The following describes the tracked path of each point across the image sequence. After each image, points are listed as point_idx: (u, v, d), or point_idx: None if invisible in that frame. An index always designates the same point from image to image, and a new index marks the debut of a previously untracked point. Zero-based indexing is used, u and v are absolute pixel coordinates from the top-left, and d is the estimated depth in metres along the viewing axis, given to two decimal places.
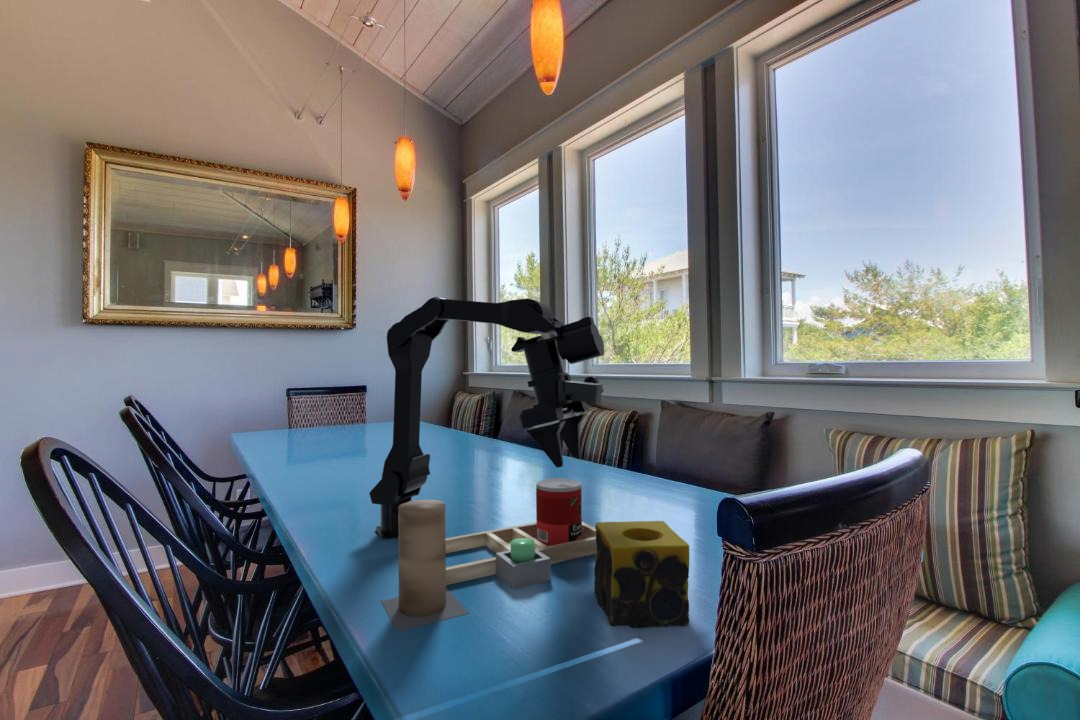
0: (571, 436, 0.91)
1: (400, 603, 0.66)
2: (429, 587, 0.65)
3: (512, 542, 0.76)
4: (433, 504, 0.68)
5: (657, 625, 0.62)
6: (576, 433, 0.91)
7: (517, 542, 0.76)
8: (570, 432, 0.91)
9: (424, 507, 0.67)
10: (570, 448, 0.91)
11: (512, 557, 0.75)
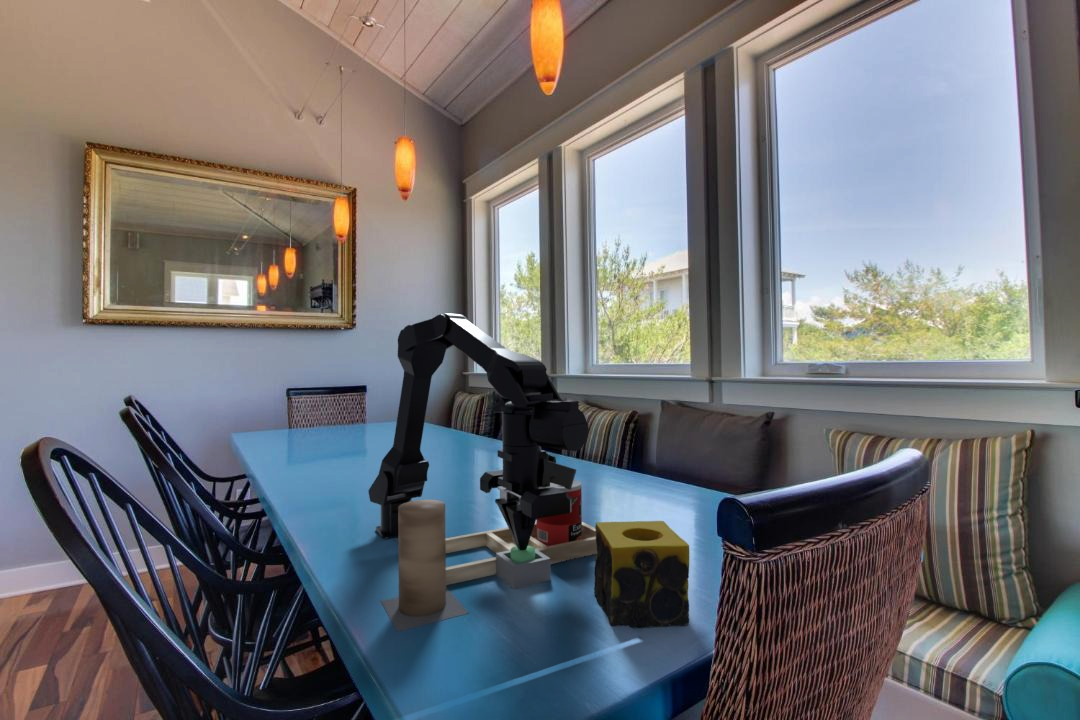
0: None
1: (400, 603, 0.66)
2: (429, 587, 0.65)
3: (512, 549, 0.76)
4: (433, 504, 0.68)
5: (657, 625, 0.62)
6: None
7: (517, 550, 0.76)
8: None
9: (424, 507, 0.67)
10: None
11: None
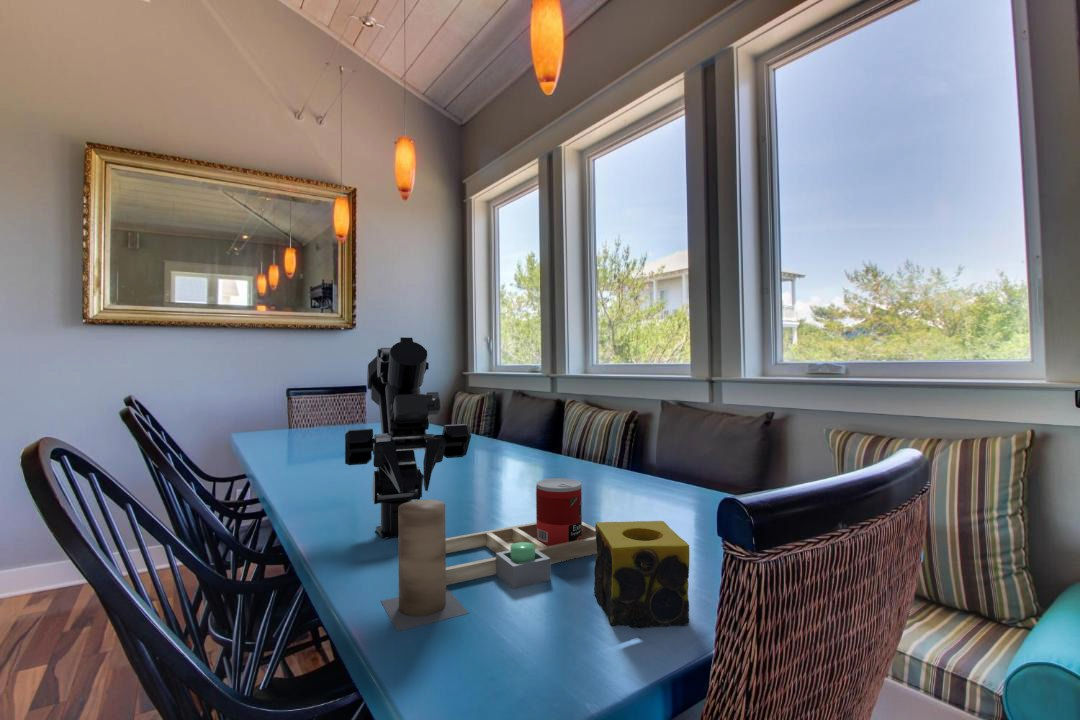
0: (424, 468, 0.78)
1: (400, 603, 0.66)
2: (429, 587, 0.65)
3: (512, 546, 0.76)
4: (433, 504, 0.68)
5: (657, 625, 0.62)
6: (426, 462, 0.78)
7: (517, 547, 0.76)
8: None
9: (424, 507, 0.67)
10: (424, 482, 0.77)
11: None
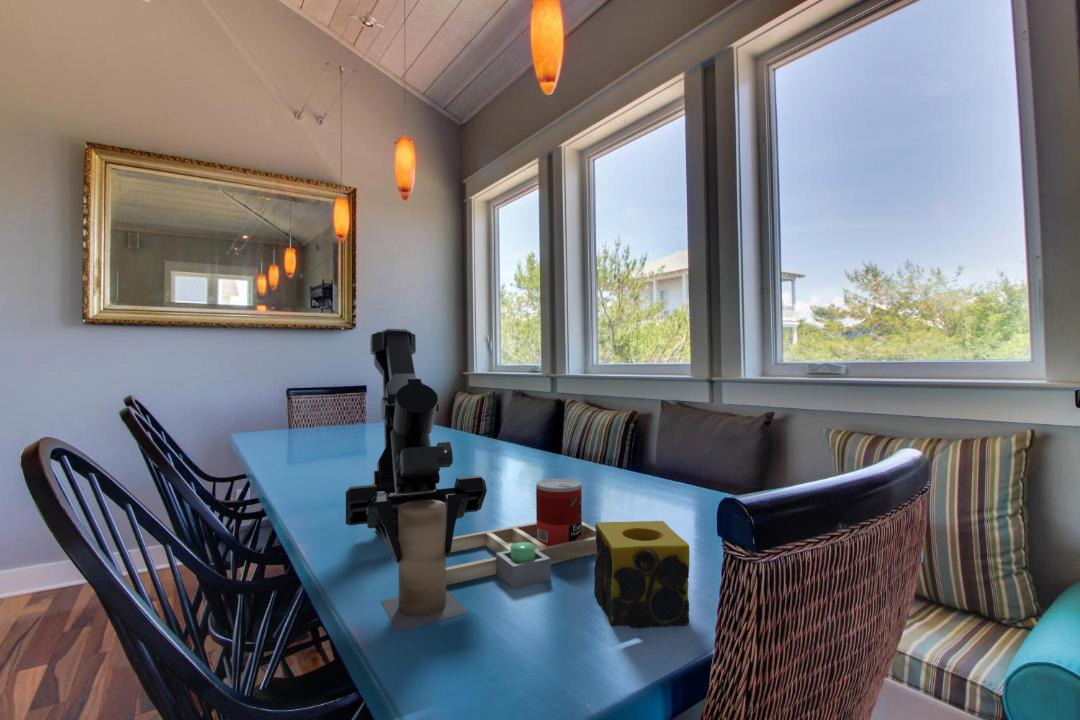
0: (445, 528, 0.70)
1: (400, 603, 0.66)
2: (429, 587, 0.65)
3: (512, 546, 0.76)
4: (433, 504, 0.68)
5: (657, 625, 0.62)
6: (447, 522, 0.70)
7: (517, 547, 0.76)
8: (445, 523, 0.70)
9: (424, 507, 0.67)
10: None
11: None
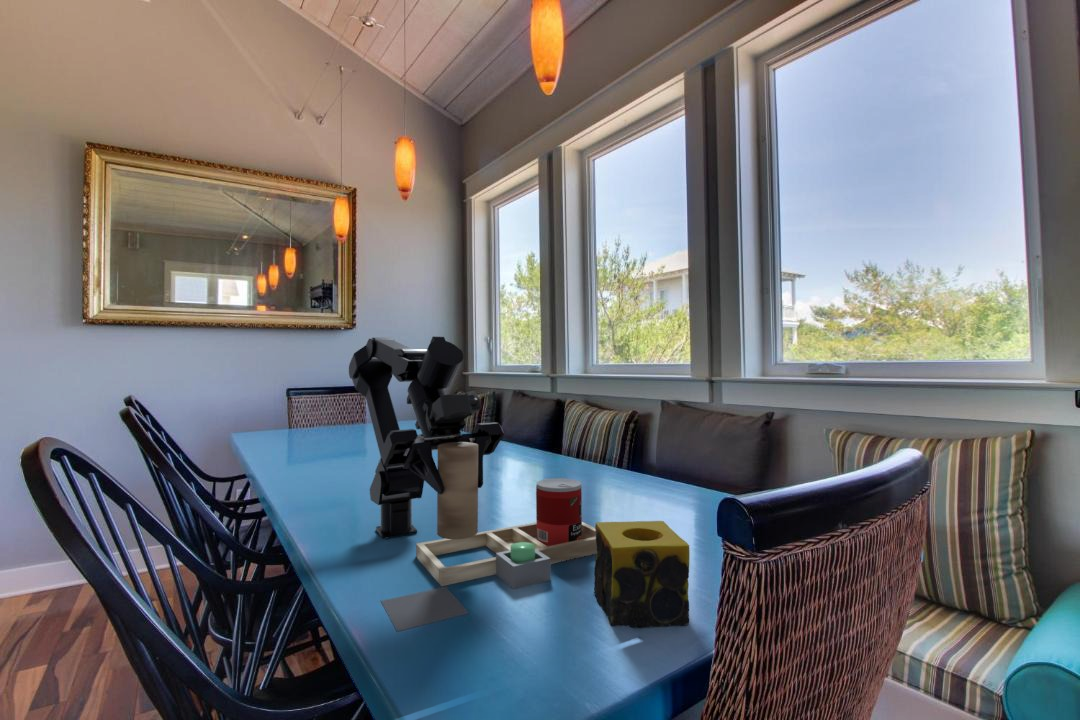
0: None
1: (441, 530, 0.75)
2: (469, 513, 0.75)
3: (512, 546, 0.76)
4: (466, 444, 0.78)
5: (657, 625, 0.62)
6: None
7: (517, 547, 0.76)
8: None
9: (461, 446, 0.76)
10: None
11: None
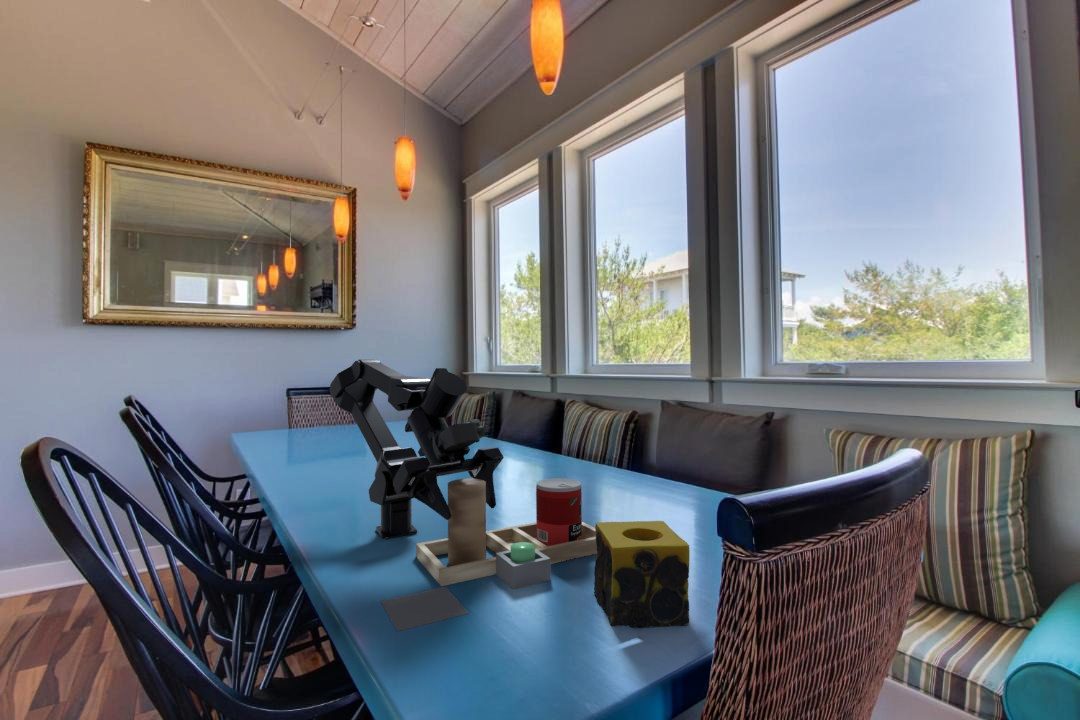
0: None
1: (454, 563, 0.80)
2: (480, 546, 0.80)
3: (512, 546, 0.76)
4: (473, 480, 0.84)
5: (657, 625, 0.62)
6: (487, 482, 0.86)
7: (517, 547, 0.76)
8: None
9: (471, 483, 0.82)
10: (487, 500, 0.85)
11: None
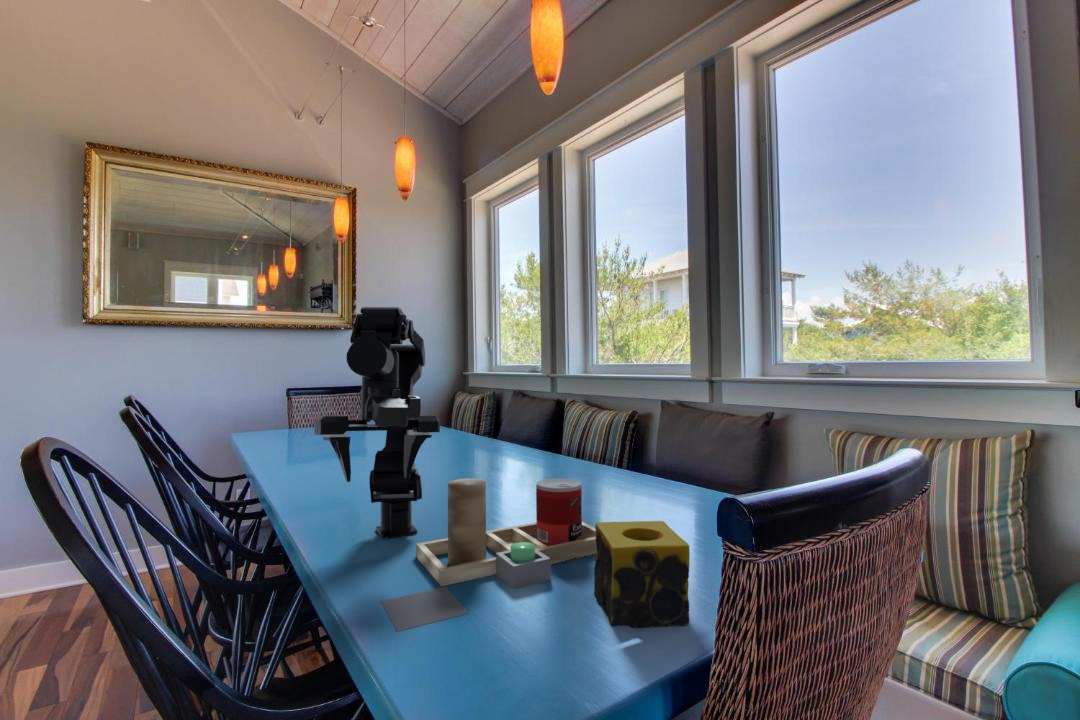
0: (407, 455, 0.85)
1: (454, 564, 0.80)
2: (480, 546, 0.80)
3: (512, 546, 0.76)
4: (473, 480, 0.84)
5: (657, 625, 0.62)
6: (410, 453, 0.85)
7: (517, 547, 0.76)
8: (407, 450, 0.86)
9: (471, 483, 0.82)
10: (404, 467, 0.86)
11: None
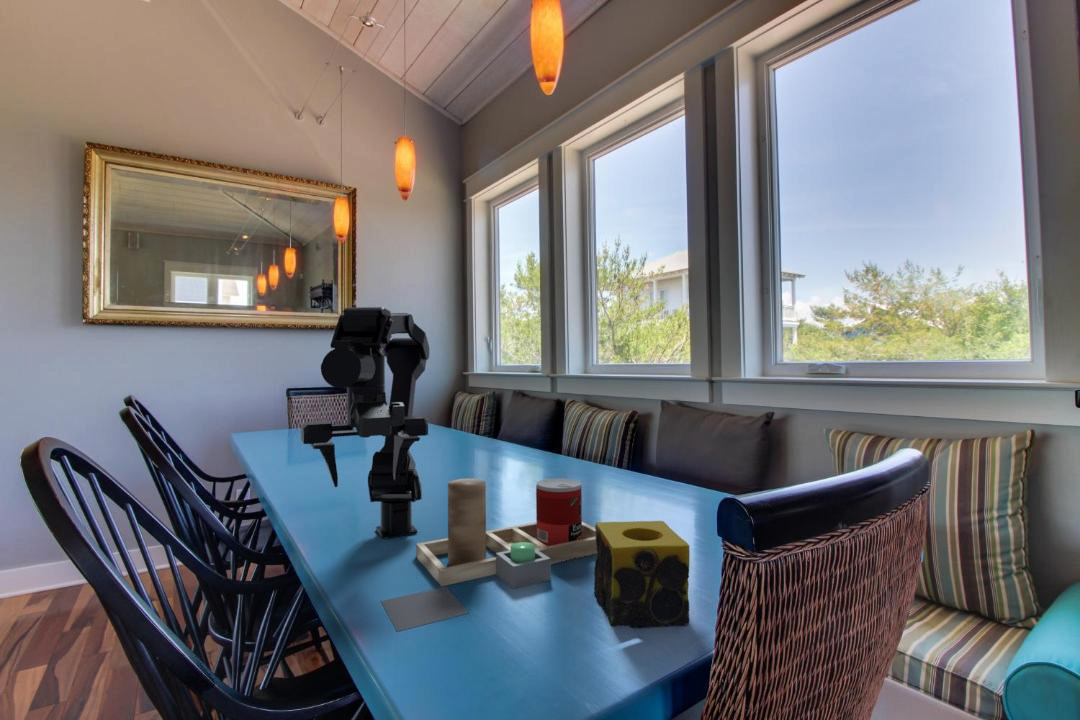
0: (396, 457, 0.85)
1: (454, 564, 0.80)
2: (480, 546, 0.80)
3: (512, 546, 0.76)
4: (473, 480, 0.84)
5: (657, 625, 0.62)
6: (398, 456, 0.84)
7: (517, 547, 0.76)
8: (396, 452, 0.85)
9: (471, 483, 0.82)
10: (393, 468, 0.85)
11: None
